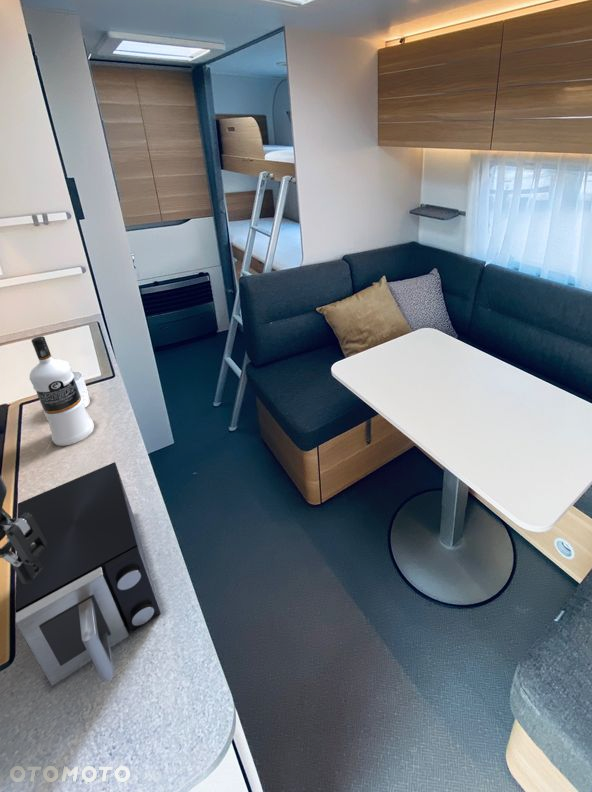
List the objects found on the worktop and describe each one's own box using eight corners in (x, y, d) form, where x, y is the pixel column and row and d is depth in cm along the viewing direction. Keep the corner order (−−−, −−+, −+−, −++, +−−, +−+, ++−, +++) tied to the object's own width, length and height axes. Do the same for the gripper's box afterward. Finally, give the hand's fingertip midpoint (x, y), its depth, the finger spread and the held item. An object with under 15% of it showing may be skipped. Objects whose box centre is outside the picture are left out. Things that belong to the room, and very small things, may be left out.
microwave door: (137, 675, 62) (109, 611, 56) (55, 733, 56) (14, 668, 50) (127, 629, 68) (101, 566, 61) (52, 677, 62) (15, 613, 56)
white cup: (82, 396, 126) (72, 368, 123) (98, 403, 123) (88, 375, 119) (54, 411, 120) (43, 383, 116) (70, 419, 117) (59, 390, 113)
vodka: (94, 419, 116) (61, 325, 105) (96, 438, 109) (60, 339, 98) (54, 432, 112) (14, 336, 100) (53, 453, 104) (10, 351, 93)
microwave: (162, 619, 69) (140, 556, 63) (53, 691, 60) (14, 626, 54) (134, 519, 87) (115, 461, 80) (47, 563, 78) (17, 503, 72)
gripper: (-143, 504, 44) (-76, 598, 51) (-28, 515, 43) (27, 611, 49) (-67, 453, 51) (-16, 541, 58) (35, 460, 50) (76, 550, 56)
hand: (4, 573), depth 53 cm, fingers open, 8 cm apart
